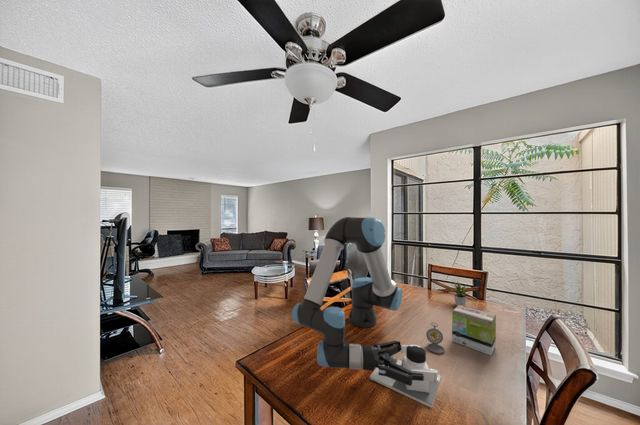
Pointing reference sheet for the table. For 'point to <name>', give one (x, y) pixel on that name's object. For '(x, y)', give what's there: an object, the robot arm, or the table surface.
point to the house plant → (459, 294)
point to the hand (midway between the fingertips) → (426, 362)
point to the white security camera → (416, 366)
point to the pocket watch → (435, 340)
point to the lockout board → (401, 387)
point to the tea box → (474, 329)
